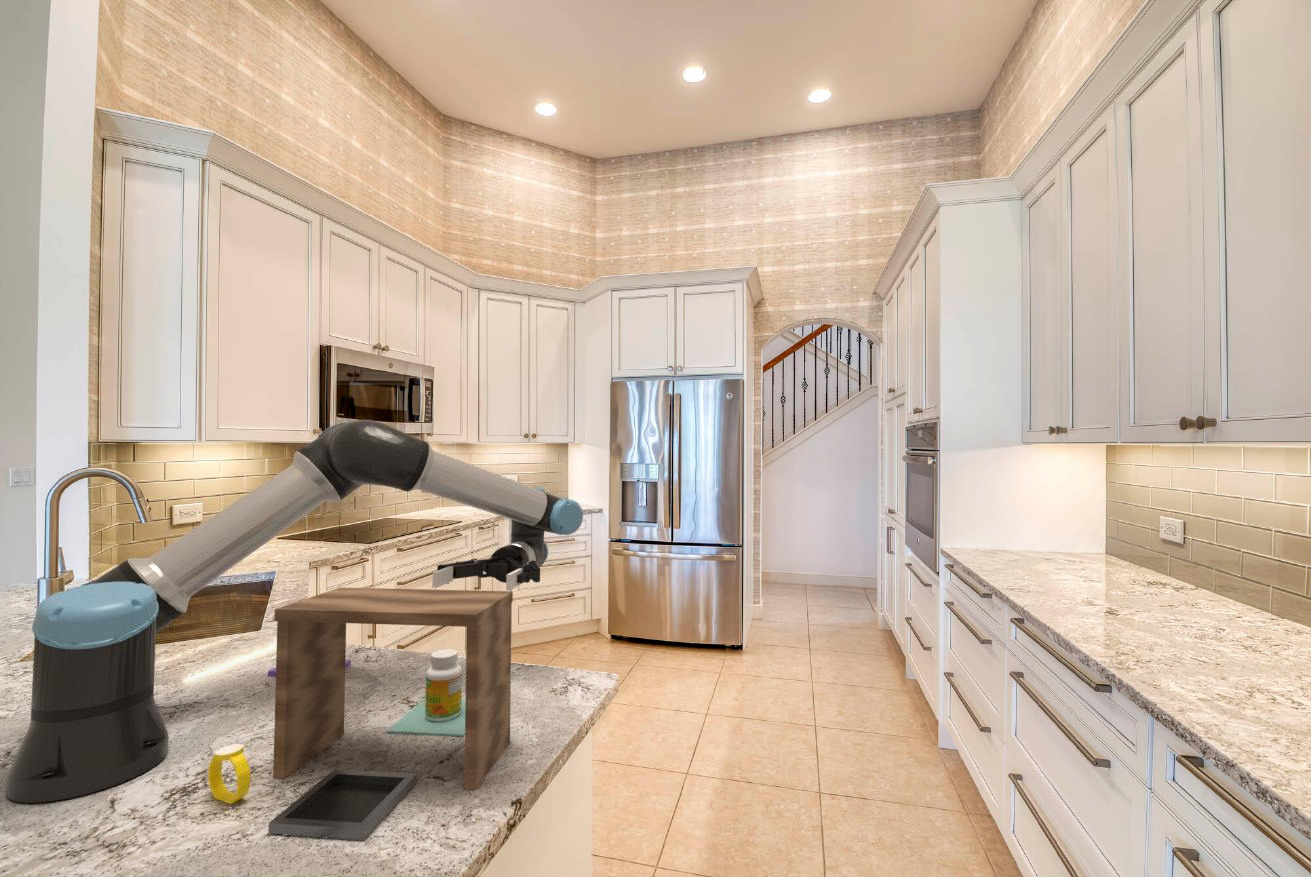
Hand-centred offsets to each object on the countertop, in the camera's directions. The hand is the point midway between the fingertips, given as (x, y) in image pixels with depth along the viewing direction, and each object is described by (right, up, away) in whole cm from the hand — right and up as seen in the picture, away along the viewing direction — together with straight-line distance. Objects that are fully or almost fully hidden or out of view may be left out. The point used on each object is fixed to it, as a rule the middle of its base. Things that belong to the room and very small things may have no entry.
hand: (471, 581), depth 102 cm
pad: (-1, -19, -11) cm, 22 cm away
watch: (-19, -18, -33) cm, 42 cm away
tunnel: (-2, -18, -24) cm, 30 cm away
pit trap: (-3, -18, -34) cm, 39 cm away
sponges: (-34, -21, +10) cm, 41 cm away
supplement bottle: (-1, -19, -11) cm, 22 cm away
